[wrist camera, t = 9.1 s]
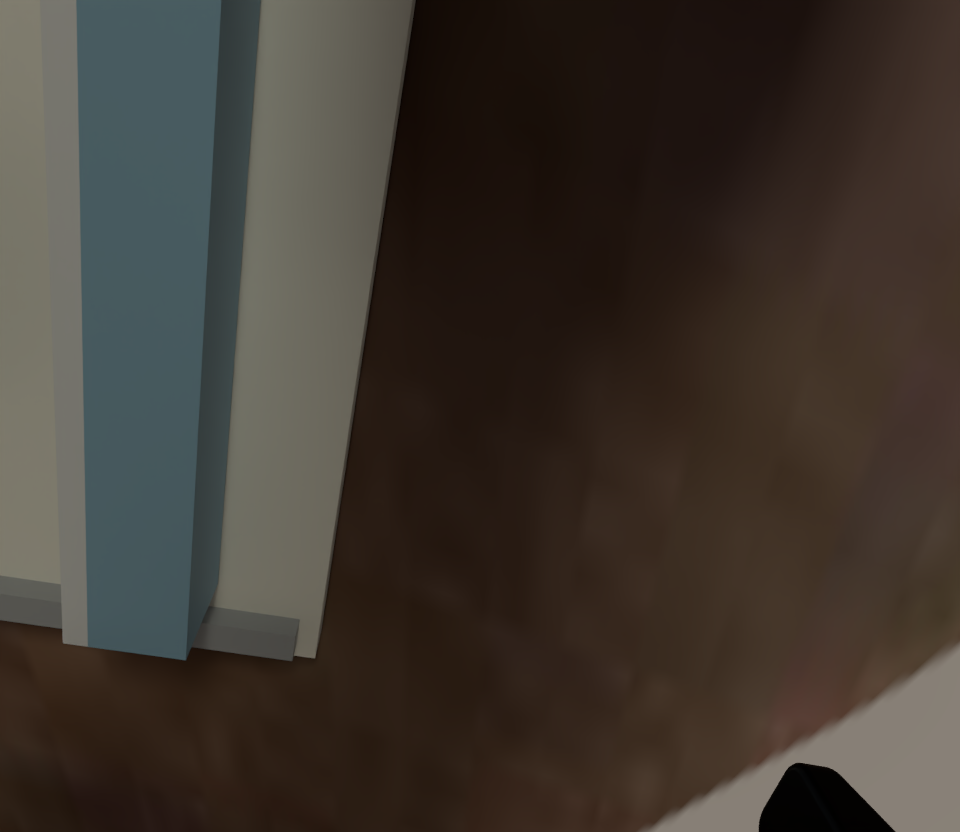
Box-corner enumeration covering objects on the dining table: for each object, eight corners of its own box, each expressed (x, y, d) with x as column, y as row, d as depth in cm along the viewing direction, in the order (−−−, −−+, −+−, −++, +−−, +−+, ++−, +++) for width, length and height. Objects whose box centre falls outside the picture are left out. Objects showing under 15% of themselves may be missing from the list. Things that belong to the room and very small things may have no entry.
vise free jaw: (267, -96, 13) (227, -112, 11) (217, 583, 20) (185, 660, 17) (108, -133, 13) (34, -157, 11) (109, 567, 19) (62, 643, 17)
